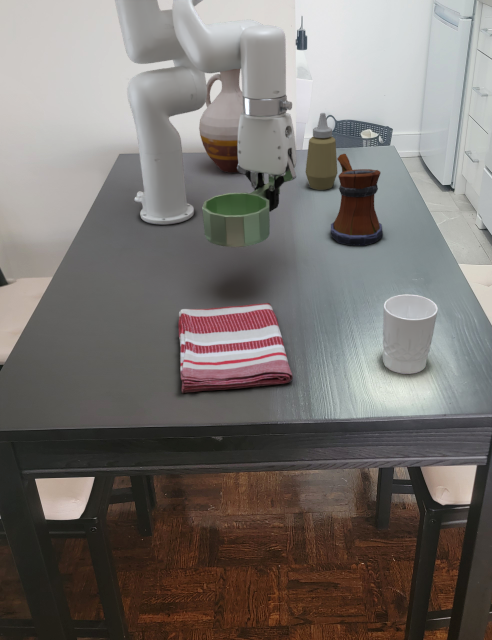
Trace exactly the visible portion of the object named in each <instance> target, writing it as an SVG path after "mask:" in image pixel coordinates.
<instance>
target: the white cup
mask: <svg viewBox="0 0 492 640" xmlns="http://www.w3.org/2000/svg"><path fill="white" fill-rule="evenodd" d="M438 311H439V308H438V305H437V304H436V302H435V301H433V300H432V299H430V298H428V297H425V296H422V295H417V294H410V293H409V294H407V293H406V294H398V295H394V296H391V297H389V298H388V299H386V300H385V302H383V319H382V321H383V322H382V362H383V365H384V366H385V368H387V369H388V370H390V371H391V372H394V373H398V374H401V375H402V374H403V375H413V374H416V373H420V372H421V371H423V370H425V369H426V366H427V363H428V357H429V353H430V350H431V345H432V341H433V336H434V334H435V333H434V332H435V327H436V321H437V317H438Z"/></svg>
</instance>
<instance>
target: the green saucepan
mask: <svg viewBox="0 0 492 640" xmlns="http://www.w3.org/2000/svg"><path fill="white" fill-rule="evenodd" d="M264 184H265V185H264V186H262V187H260V188H258V189H257V190H255V191H254V190H253V191H251V192H228V193H224V194H217V195H214V196H211V197H209V198H208V199H207V200H204V201H203V205H202V218H203V219H202V221H203V230H204V231H203V232H204V233H203V234H204V236H205V239H206V240H207V241H208V242H209V243H210V244H213V245H216V246H220V247H225V248H243V247H245V248H246V247H251V246H254V245H258V244H260V243H263V242H265V241H266V240H267V239H268V238H269V237H270V233H271V230H270V229H271V224H270V221H271V219H270V218H271V217H270V212H269V200H268V199H266V191H267V190H269V182H267V183H264ZM280 188H281V186H280V187H279V195H281V189H280Z"/></svg>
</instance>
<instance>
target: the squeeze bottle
mask: <svg viewBox="0 0 492 640" xmlns="http://www.w3.org/2000/svg"><path fill="white" fill-rule="evenodd" d="M336 142H337V141H336V138H335V137H334V136H333V128H331V127H329V126H328V120H327V115H326V113H325V112H321V113H320V114H319V118H318V123H317V126H316V127H314V128H312V137H310V138H309V140H308V147H307V155H306V164H305V176H306V178H307V179H306V180H307V182H308V186H309V188H311V189H313V190H318V191H324V190H330V189H332V188H333V187H334V184H335V181H336V179H337V176H338V160H337V158H338V157H337V144H336Z"/></svg>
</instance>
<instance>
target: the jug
mask: <svg viewBox="0 0 492 640" xmlns="http://www.w3.org/2000/svg"><path fill="white" fill-rule="evenodd" d="M240 76H241V69H233V70H228V71H223V72H219V73H214V74H213V75H211V77H210V78H209V79H208V80H207V81H206V86H207V98H206V102H205V106H206V108H205V110H203V112H202V115H201V116H200V119H199V127H198V130H199V137H200V139H201V142H202V145H203V148H204V150H205V152H206V155H208V157H209V159H210V160H211V161H212V162H213V163H214V165H216V167H217V168H218V169H219V170H220V171H222V172H223V173H230V174H231V173H232V174H234V173H240V172H239V171H238V170H237V167H238V127H239V120H240V115H241V113H242V112H243V99H242V89H241V87H240ZM216 81H220V82H221V89H220V92H219V93H218V95H216V97H215V98H214V100H213V101H211V90H212V87H213V85H214V83H215V82H216Z"/></svg>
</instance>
